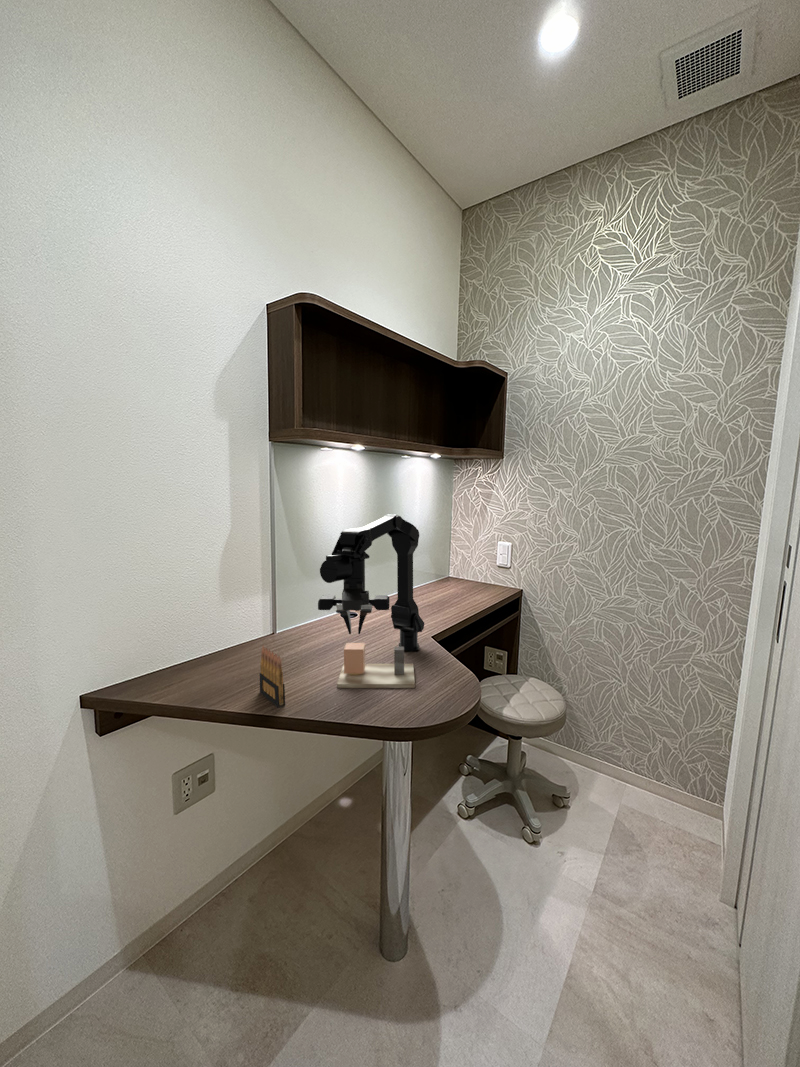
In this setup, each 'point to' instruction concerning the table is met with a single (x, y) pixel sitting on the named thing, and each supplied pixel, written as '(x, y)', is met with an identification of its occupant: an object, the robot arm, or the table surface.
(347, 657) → the peach rectangular block
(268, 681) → the ammunition clip
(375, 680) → the post board
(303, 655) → the table surface
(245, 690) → the table surface
